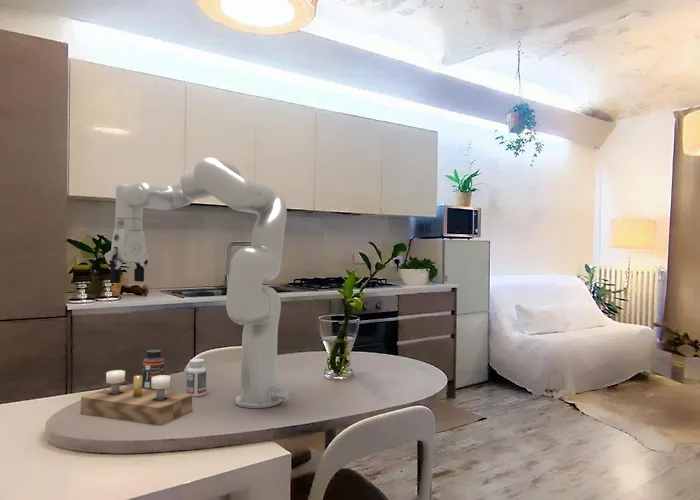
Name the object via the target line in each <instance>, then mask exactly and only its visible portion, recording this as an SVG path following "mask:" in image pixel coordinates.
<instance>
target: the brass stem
mask: <svg viewBox="0 0 700 500" xmlns="http://www.w3.org/2000/svg"><path fill="white" fill-rule="evenodd" d="M141 396H142V375H140V374H138V375H134V376H133V397H141Z"/></svg>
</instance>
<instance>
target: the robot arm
mask: <svg viewBox="0 0 700 500" xmlns="http://www.w3.org/2000/svg"><path fill="white" fill-rule="evenodd" d="M239 170H240V169H239V168H238V166H236V165H235V164H233V163H231V162H229V161H226V160H223V159H220V158H217V157H211V156H209V157H205V158H202V159H200V160H199V161H197V163H196V164H195V166H194V168H193V169H191V170H190V169H189V170H186V171H184V172H182V174H181V176H180V180H179V182H178V183H175V184H172V185H171V184H170V185H163V184H158V183H152V182H147V181H140V182H136V183H121V184H118V185H116V188H115V219H114V222H113V223H114V230H113V234H112V239H111V249H110V250H109V251H108V252H105V254H104V258H105V262H106V264H107V266H108V269H109V270H110V273H109V274H110V278H109V279H110V283H111V284H120V283H121V282H122V281H121V279H122V277H121V275H122V273H121V269H120V268H121V266H122V265H123V263H125V264H133V265H134V266H135V268H134V273H133V274H134V278H133V280H134V282H139V283H140V282H145V269H146V267H147V265H148V263H149V258H150V254H149V253H148V252H147V247H146V246H147V245H146V244H147V243H146V237H145V231H144V230H143V211H144V209H151V210H152V209H153V210H158V211H169V210H175V209H178V208H183V207H186V206H189V205H191V204H192V203H194V202H195V201H196V200H200V199H204V198H209V197H214V198H215V199H217V200H218V201H219V202H221V203H222V204H224V205H225V206H227V207H228V208H230V209H232V210H234V211H238V212H244V213H248V214H249V213H251V214H255V215H257V219H256V221H255V223H254V226H253V229H252V236H251V237H252V238H251V243H250V245H247V246H243V247H241V248H240V249H238V250H237V251H236V252H235V253H234V255H233V257H232V259H231V261H230V265H229V272H228V278H227V279H228V280H227V281H228V282H227V290H226V299H225V308H226V313H227V316H228V317H229V319H230V320H231V321H232V322H233V323H234V324H237V325H241V326H243V328H242V329H243V330H242V335H241V336H242V337H241V376H240V378H241V381H240V383H241V384H240V394H238V395H236V397H235V398H234V403H235V405H237V406H239V407H242V408H247V409H248V408H249V409H263V408H264V409H265V408H270V407H274V406H278V405H279V404H281V403H282V401H283V400H285V401H286V400H289V397H290V392H289V390H285V389H281V385H280V383H279V384H278V383H277V379H278V378H277V373H278V372H277V371H278V370H277V369H278V335H279V334H278V333H279V322H280V317H281V310H282V301H281V298H280V295H279V293H278V292H277V290H275V289H274V288H272V287H270V286H268V285H263V283H264V282H267V281H268V282H269V281H273V280H274V279H276V278H277V277H278V276H279V273H281V267H282V258H283V249H284V240H285V239H284V237H285V228H286V223H287V216H288V212H287V204H286V201H285V200H284V198H283V196H282V195H281V194H280V193H279V192H278V191H277V190H276V189H274V188H273V187H270V186H268V185H267V184H264V183H260V182H257V181H253V180H250V179H246V178H244V177H242V175H241V172H240V171H239Z"/></svg>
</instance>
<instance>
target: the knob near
mask: <svg viewBox="0 0 700 500" xmlns="http://www.w3.org/2000/svg"><path fill="white" fill-rule="evenodd" d="M170 387H171V376H170V375H166V374H164V375H158V376H153V377H152V378H151V388H152V389H156V401H164V400H165V392H166V389H169V388H170Z"/></svg>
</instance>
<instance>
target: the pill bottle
mask: <svg viewBox="0 0 700 500" xmlns="http://www.w3.org/2000/svg"><path fill="white" fill-rule="evenodd" d="M188 363H189V364H188V365H189V367H188V368H187V369H186V394H189V395H192V398H193V397H200V396H204V395H206V394H207V368H206V367H205V366H204V365H205V359H204V358H192V359H190V360H189V362H188Z"/></svg>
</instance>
